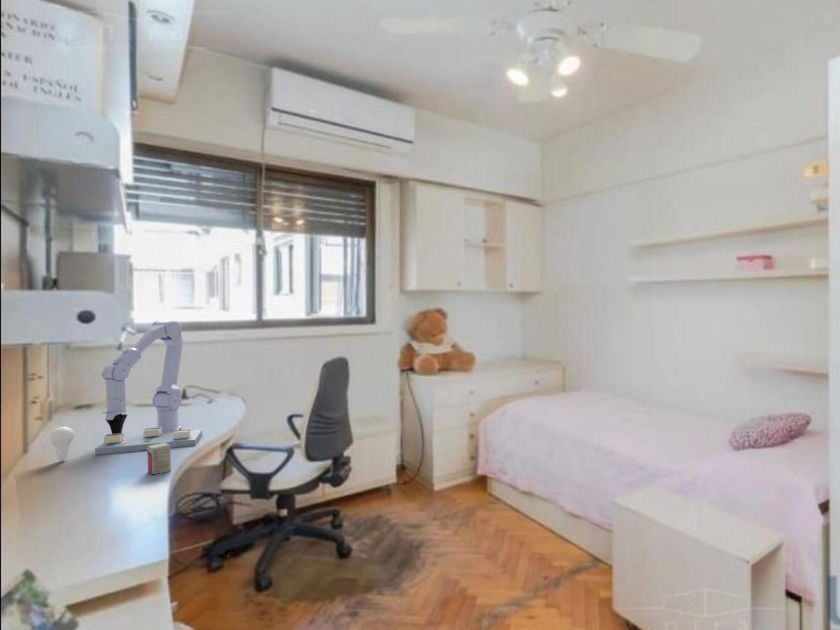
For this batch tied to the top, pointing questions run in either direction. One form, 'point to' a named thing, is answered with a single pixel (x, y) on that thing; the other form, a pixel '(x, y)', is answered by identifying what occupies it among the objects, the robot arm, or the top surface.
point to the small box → (159, 458)
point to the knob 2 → (152, 431)
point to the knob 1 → (113, 438)
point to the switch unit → (147, 442)
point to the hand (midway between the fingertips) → (117, 436)
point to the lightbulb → (62, 441)
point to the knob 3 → (181, 433)
